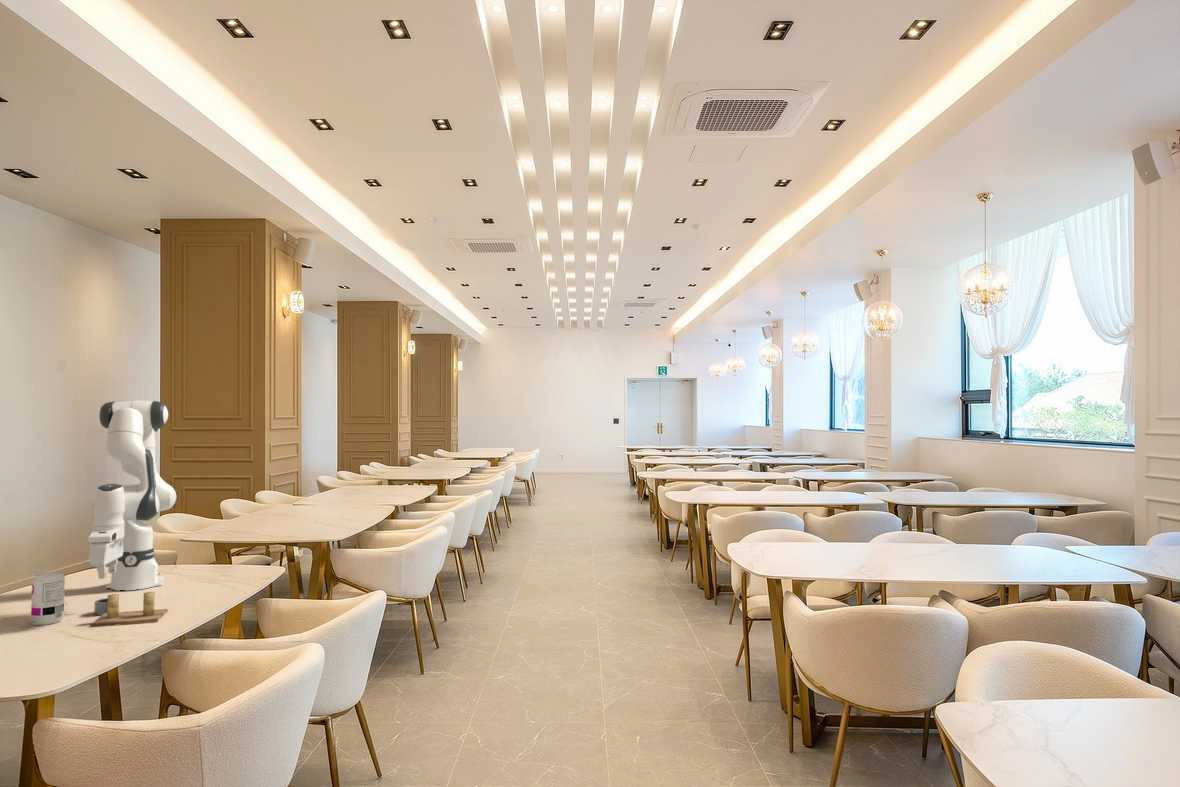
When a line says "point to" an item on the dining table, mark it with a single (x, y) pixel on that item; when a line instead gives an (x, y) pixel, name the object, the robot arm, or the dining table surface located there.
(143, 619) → the post board
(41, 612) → the supplement can
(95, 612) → the ring
